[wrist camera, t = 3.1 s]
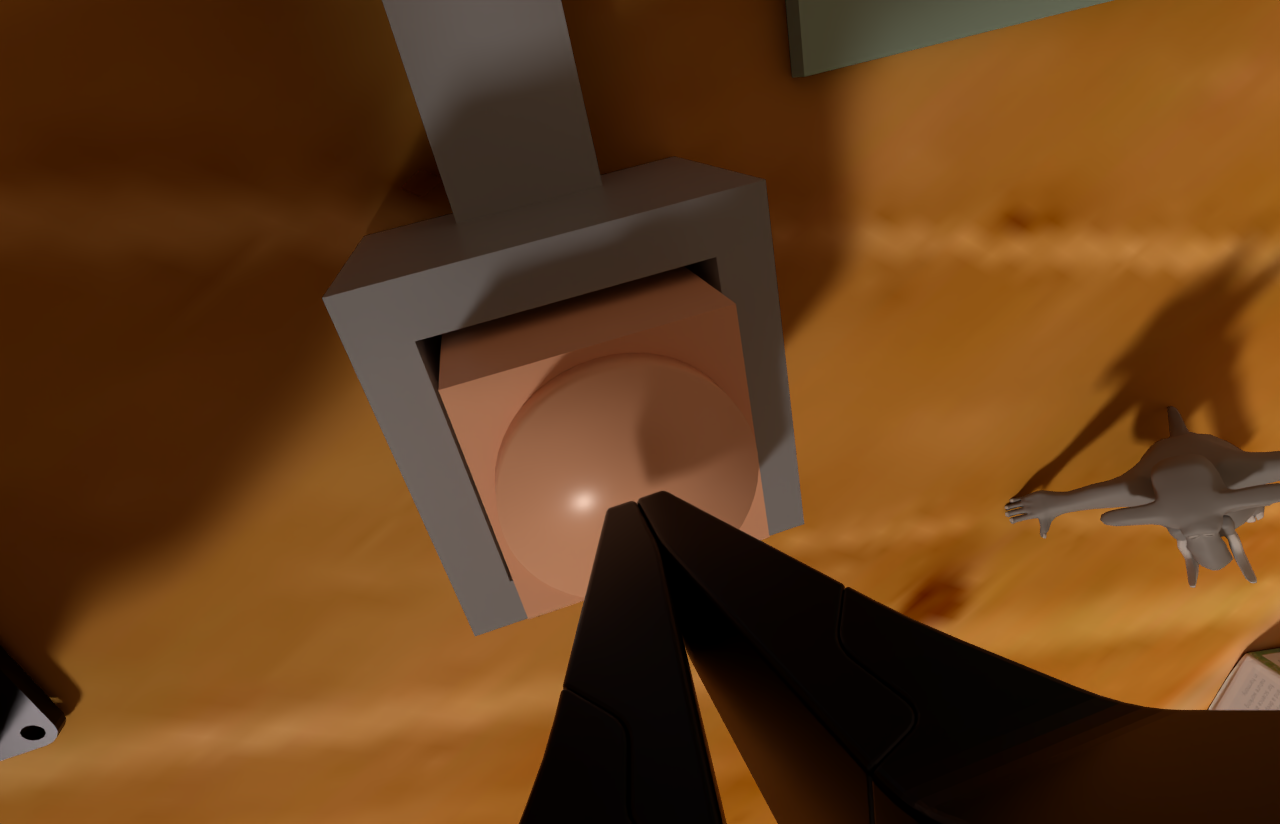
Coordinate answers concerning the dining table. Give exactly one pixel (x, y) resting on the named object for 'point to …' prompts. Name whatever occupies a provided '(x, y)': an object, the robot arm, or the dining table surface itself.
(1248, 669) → the syrup box
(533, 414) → the plunger
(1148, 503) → the grey limbed figure piece
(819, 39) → the green mat
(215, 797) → the dining table surface
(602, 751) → the robot arm
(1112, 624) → the dining table surface
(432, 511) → the grey long framed piece
